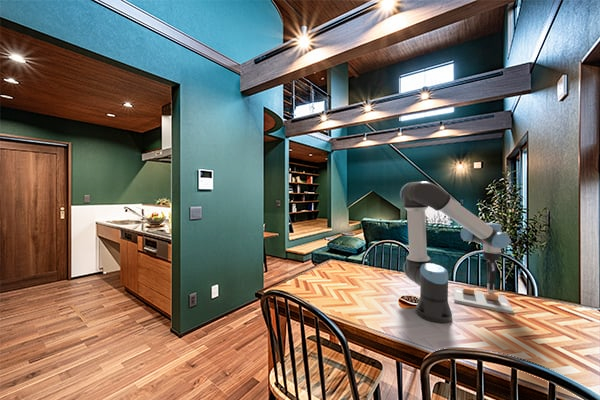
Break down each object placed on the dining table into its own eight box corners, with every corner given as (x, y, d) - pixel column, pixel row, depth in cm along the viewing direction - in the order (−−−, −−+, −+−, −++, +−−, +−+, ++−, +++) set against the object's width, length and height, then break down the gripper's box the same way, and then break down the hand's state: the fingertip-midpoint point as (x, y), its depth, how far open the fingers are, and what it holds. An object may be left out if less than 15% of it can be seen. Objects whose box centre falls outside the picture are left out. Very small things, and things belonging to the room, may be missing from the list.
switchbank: (513, 314, 116) (513, 310, 116) (454, 302, 128) (454, 299, 128) (505, 298, 133) (505, 295, 133) (453, 289, 145) (453, 286, 145)
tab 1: (474, 294, 134) (474, 290, 134) (463, 292, 136) (463, 288, 136) (473, 292, 136) (473, 288, 136) (463, 290, 139) (463, 286, 139)
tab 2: (498, 300, 126) (498, 296, 126) (486, 298, 129) (486, 294, 128) (497, 298, 128) (497, 294, 128) (485, 296, 131) (485, 292, 131)
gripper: (503, 255, 122) (501, 301, 123) (498, 250, 133) (497, 292, 134) (484, 253, 126) (483, 297, 127) (481, 248, 137) (480, 289, 138)
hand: (490, 294), depth 130 cm, fingers closed
